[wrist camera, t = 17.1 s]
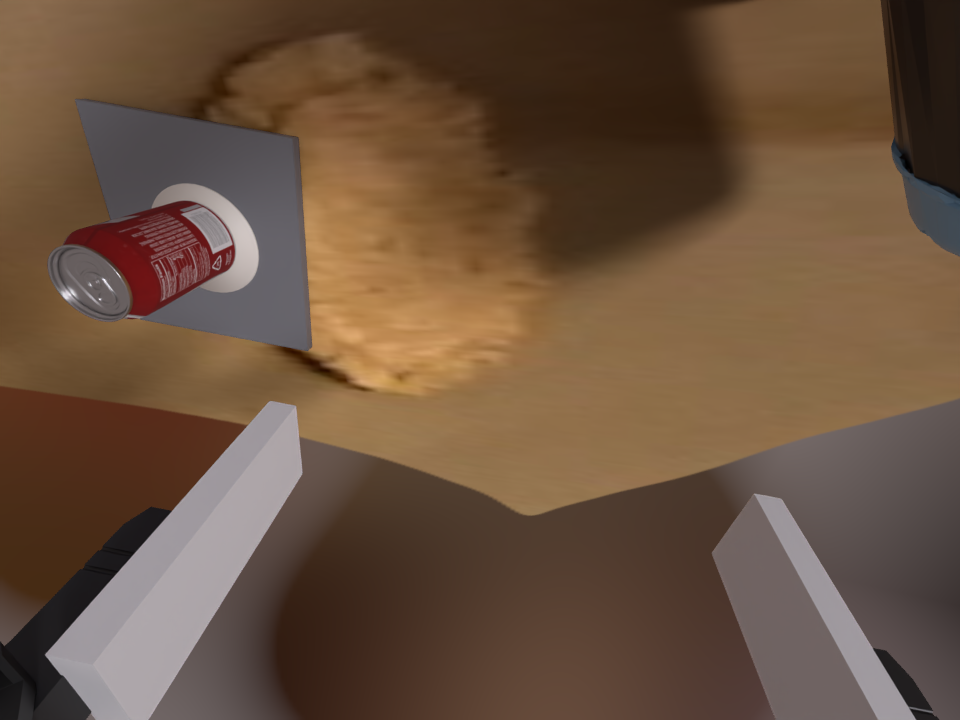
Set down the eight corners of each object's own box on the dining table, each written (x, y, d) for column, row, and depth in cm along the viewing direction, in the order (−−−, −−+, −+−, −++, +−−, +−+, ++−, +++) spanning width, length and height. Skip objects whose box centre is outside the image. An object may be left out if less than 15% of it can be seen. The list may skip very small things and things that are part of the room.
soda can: (214, 189, 37) (92, 224, 27) (254, 264, 40) (158, 320, 30) (152, 208, 39) (15, 248, 29) (195, 279, 42) (85, 337, 32)
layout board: (85, 99, 36) (72, 99, 35) (298, 137, 35) (291, 138, 34) (147, 315, 46) (138, 320, 45) (312, 346, 46) (306, 351, 45)
